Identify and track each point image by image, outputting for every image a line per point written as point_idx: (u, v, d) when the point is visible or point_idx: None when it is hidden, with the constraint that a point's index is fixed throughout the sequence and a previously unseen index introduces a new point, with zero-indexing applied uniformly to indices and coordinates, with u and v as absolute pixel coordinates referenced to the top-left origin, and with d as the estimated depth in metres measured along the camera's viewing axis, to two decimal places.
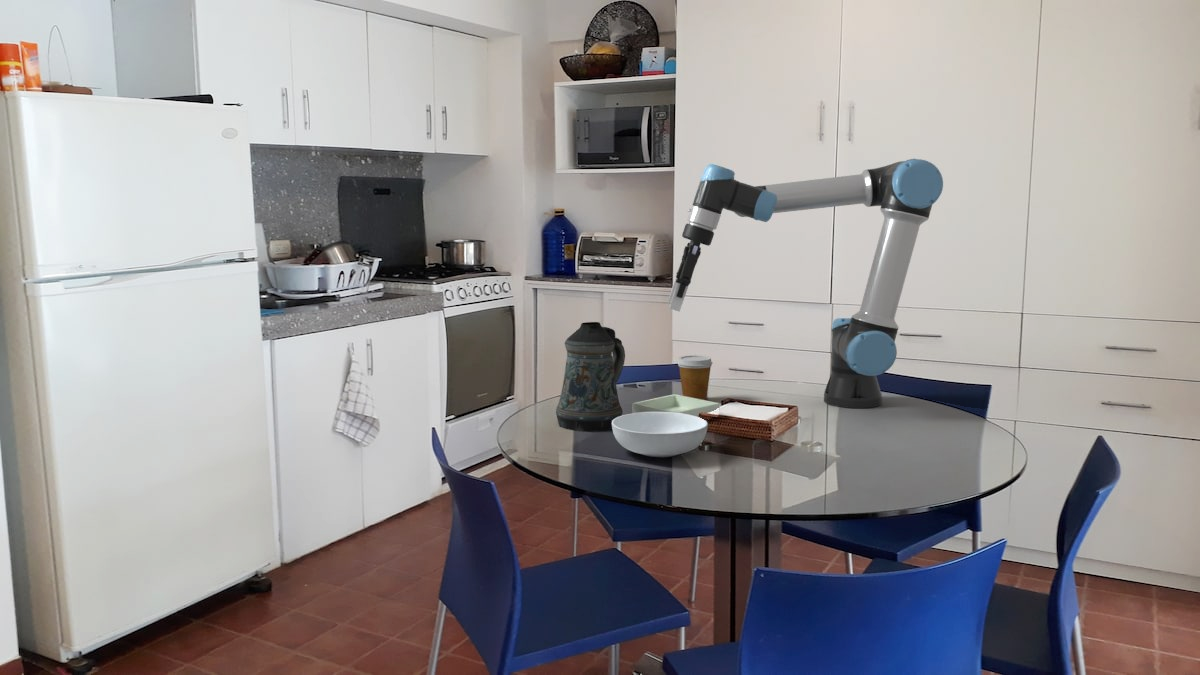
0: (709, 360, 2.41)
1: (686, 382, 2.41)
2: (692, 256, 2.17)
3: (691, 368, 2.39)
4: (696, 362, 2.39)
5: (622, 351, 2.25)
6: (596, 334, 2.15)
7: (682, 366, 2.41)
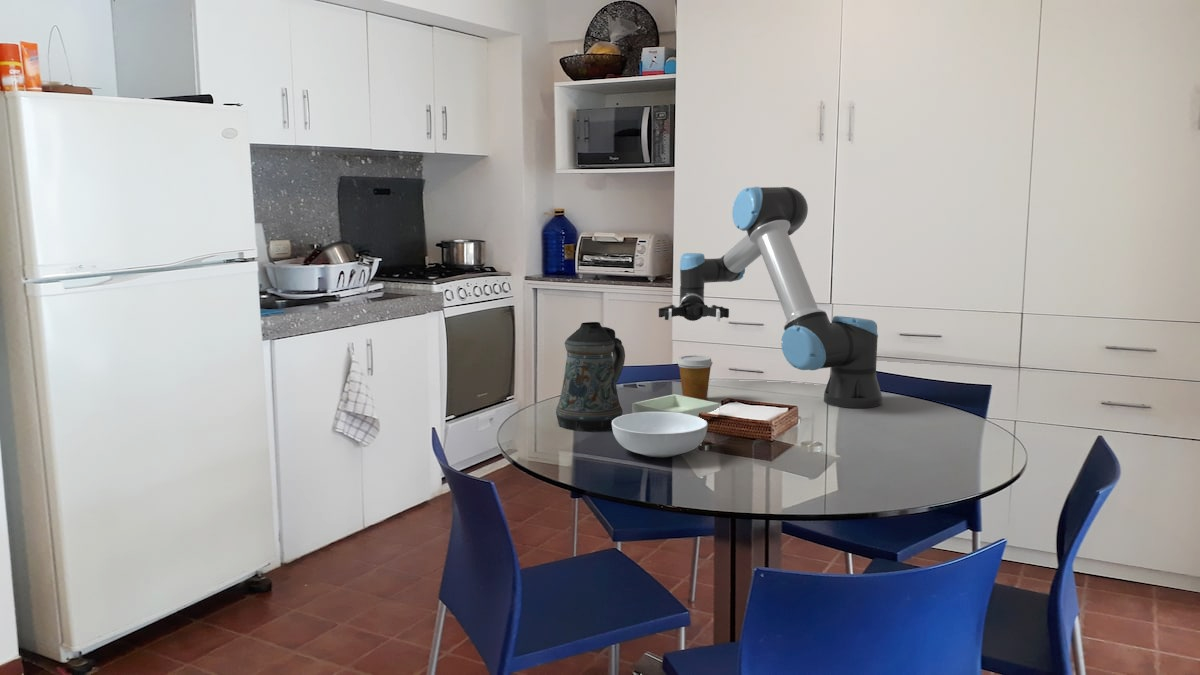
0: (709, 360, 2.41)
1: (686, 382, 2.41)
2: None
3: (691, 368, 2.39)
4: (696, 362, 2.39)
5: (622, 351, 2.25)
6: (596, 334, 2.15)
7: (682, 366, 2.41)
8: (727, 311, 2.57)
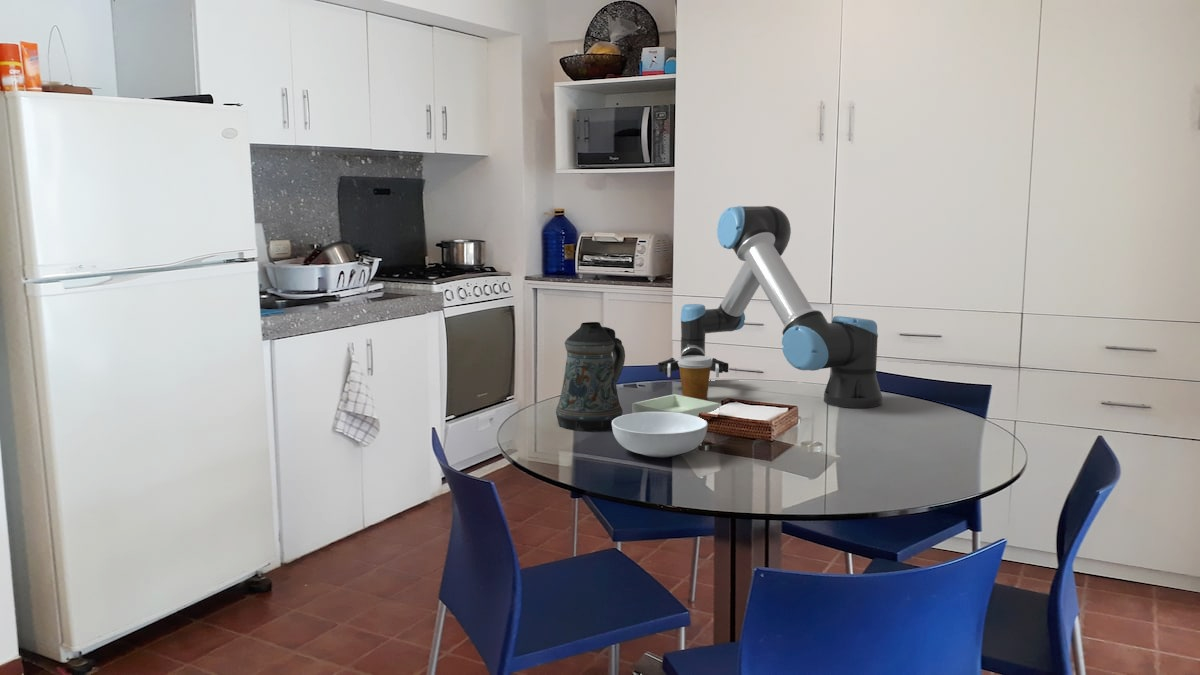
0: (709, 360, 2.41)
1: (686, 382, 2.41)
2: None
3: (691, 368, 2.39)
4: (696, 362, 2.39)
5: (622, 351, 2.25)
6: (596, 334, 2.15)
7: (682, 366, 2.41)
8: (726, 366, 2.56)
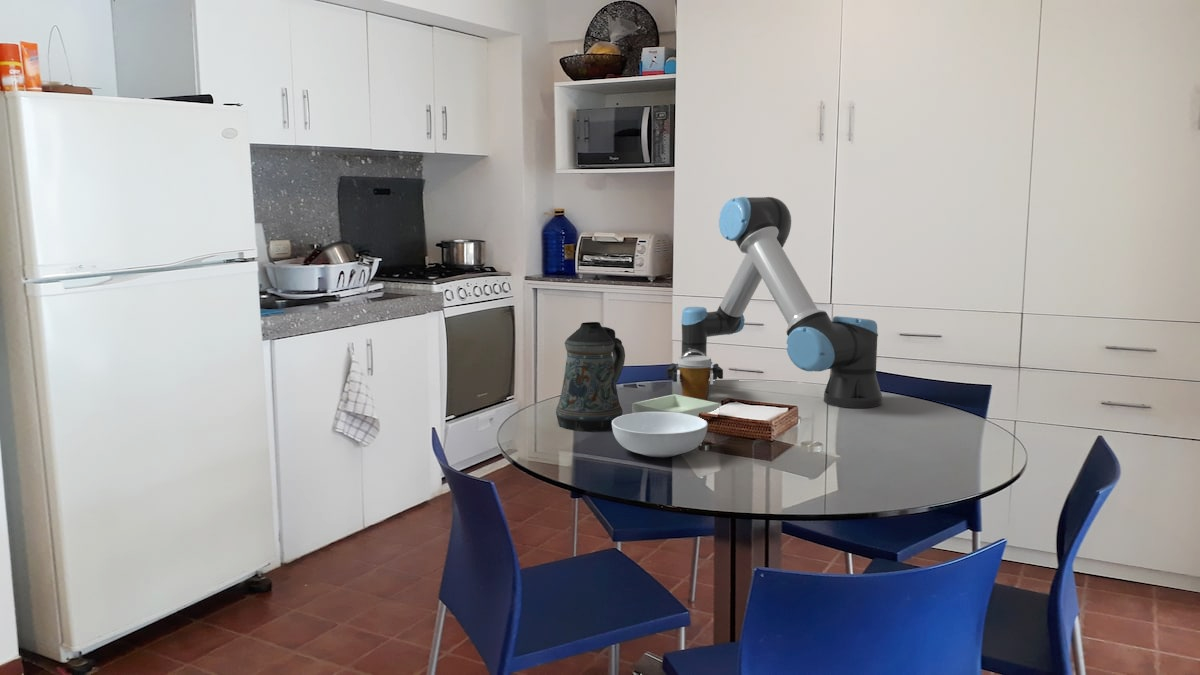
0: (709, 360, 2.41)
1: (686, 382, 2.41)
2: None
3: (691, 368, 2.39)
4: (696, 362, 2.39)
5: (622, 351, 2.25)
6: (596, 334, 2.15)
7: (682, 366, 2.41)
8: (721, 372, 2.45)
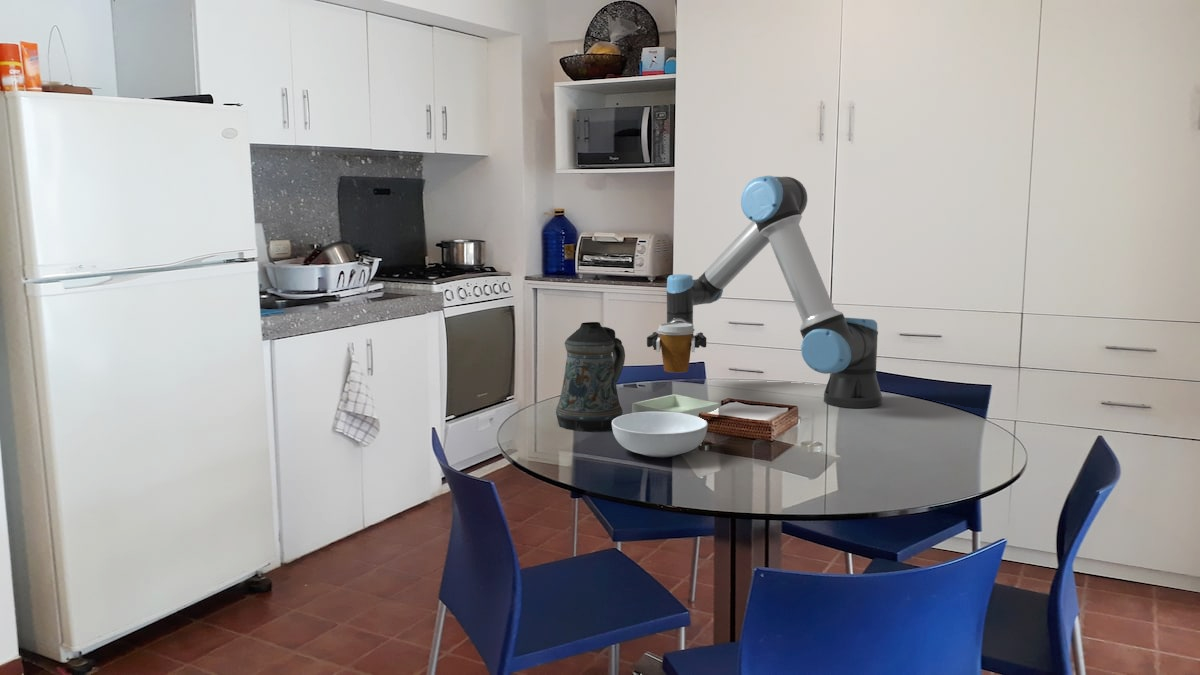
0: (691, 327, 2.27)
1: (666, 350, 2.28)
2: None
3: (671, 335, 2.26)
4: (676, 328, 2.25)
5: (622, 351, 2.25)
6: (596, 334, 2.15)
7: (662, 333, 2.27)
8: (704, 340, 2.31)
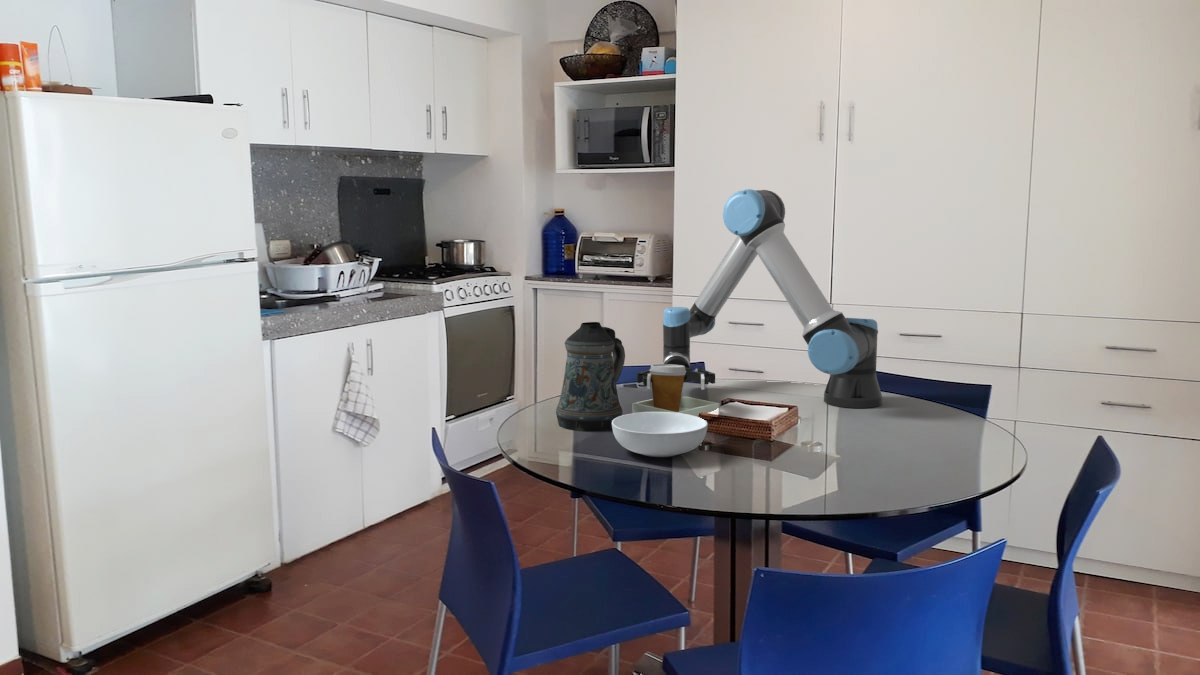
0: (682, 368, 2.25)
1: (657, 390, 2.25)
2: None
3: (662, 375, 2.23)
4: (668, 369, 2.23)
5: (622, 351, 2.25)
6: (596, 334, 2.15)
7: (653, 373, 2.25)
8: (713, 376, 2.29)
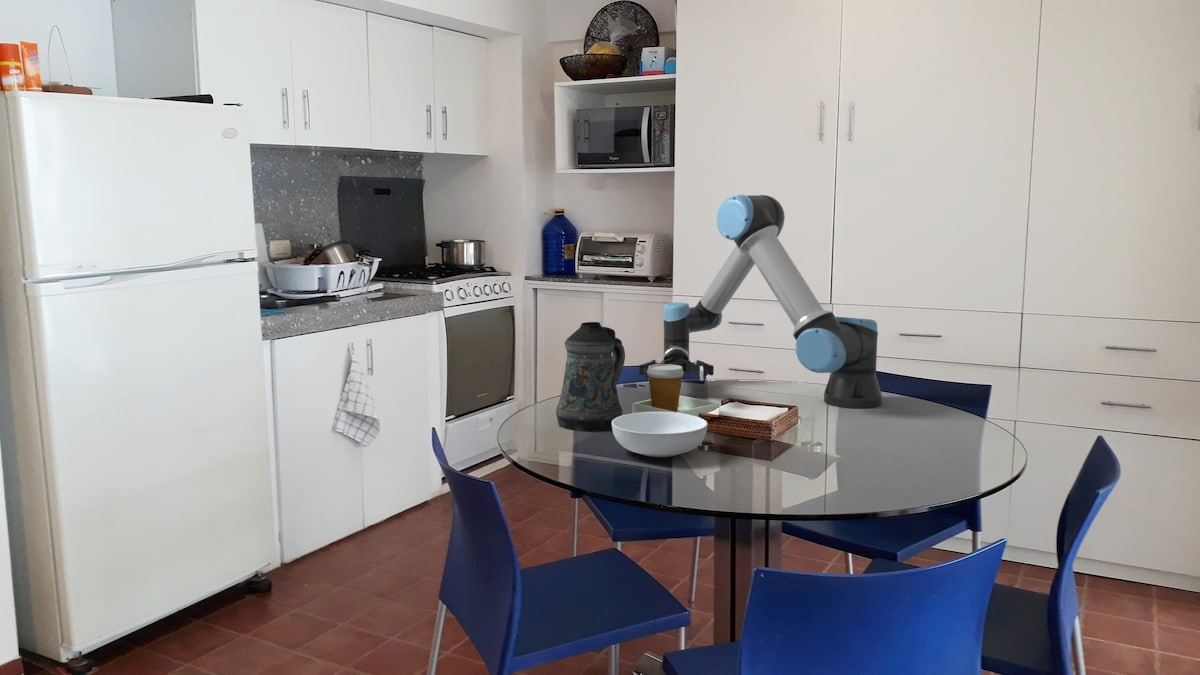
0: (679, 370, 2.24)
1: (653, 392, 2.25)
2: None
3: (658, 378, 2.23)
4: (663, 371, 2.22)
5: (622, 351, 2.25)
6: (596, 334, 2.15)
7: (650, 375, 2.25)
8: (712, 368, 2.40)
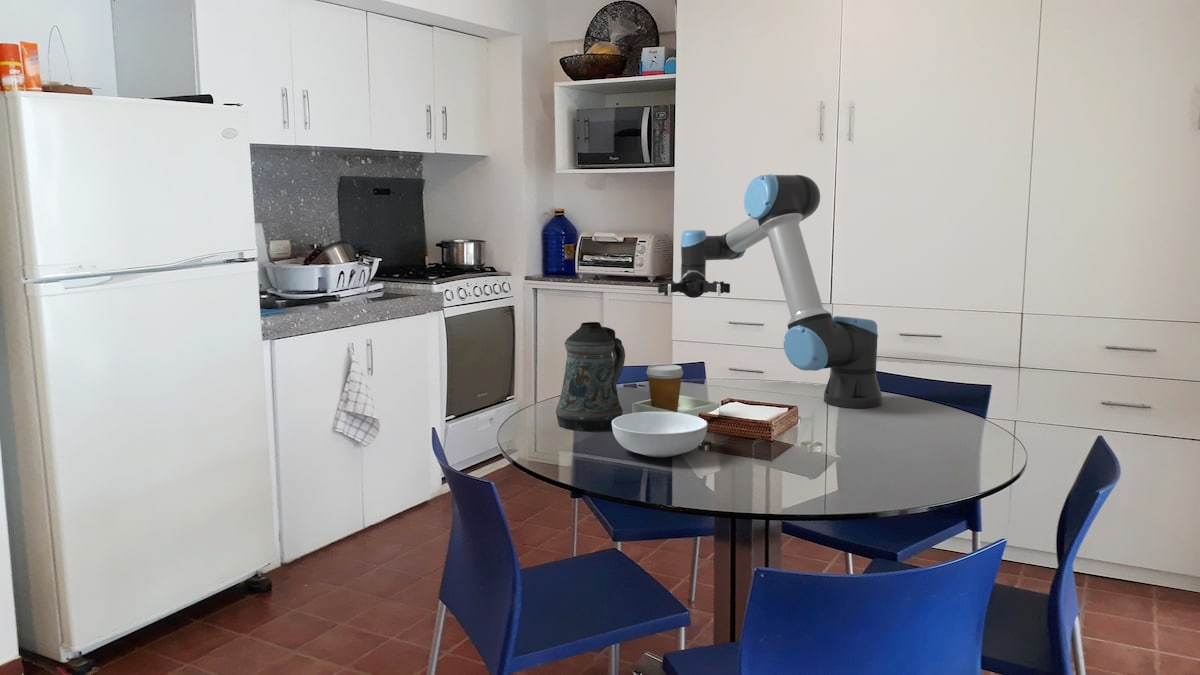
0: (678, 370, 2.24)
1: (653, 393, 2.25)
2: None
3: (657, 378, 2.23)
4: (663, 372, 2.22)
5: (622, 351, 2.25)
6: (596, 334, 2.15)
7: (649, 376, 2.25)
8: (728, 286, 2.50)
